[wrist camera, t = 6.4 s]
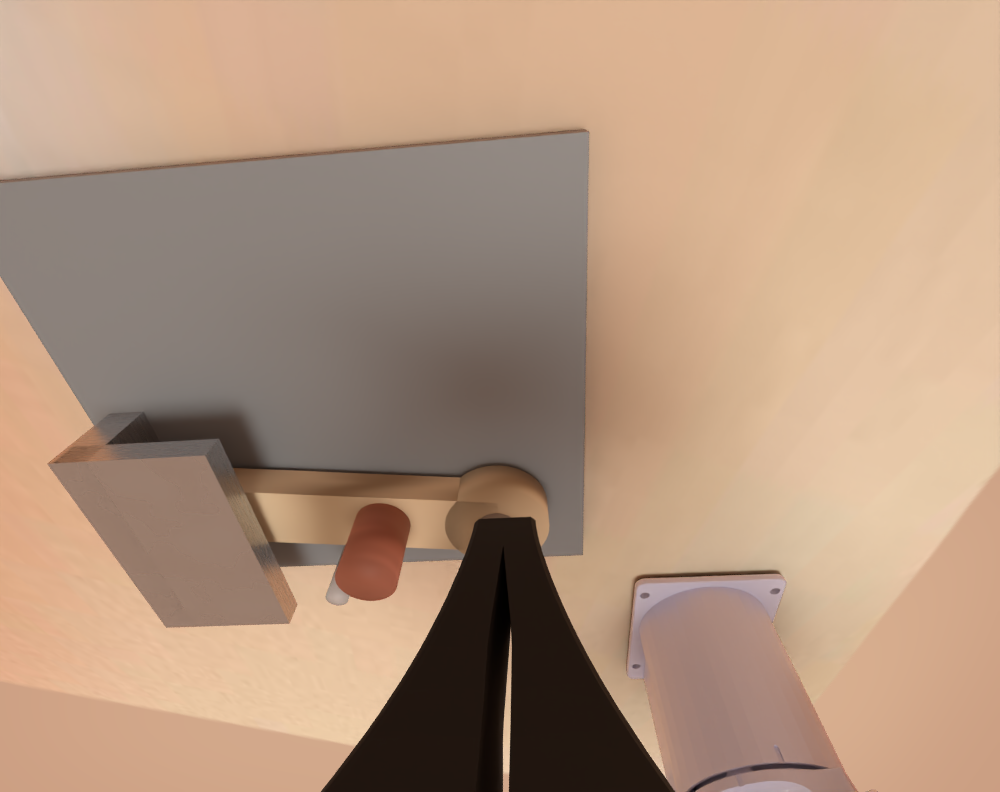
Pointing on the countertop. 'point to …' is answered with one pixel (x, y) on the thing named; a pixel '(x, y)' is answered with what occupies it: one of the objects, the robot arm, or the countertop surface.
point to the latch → (386, 515)
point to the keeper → (176, 524)
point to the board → (328, 309)
